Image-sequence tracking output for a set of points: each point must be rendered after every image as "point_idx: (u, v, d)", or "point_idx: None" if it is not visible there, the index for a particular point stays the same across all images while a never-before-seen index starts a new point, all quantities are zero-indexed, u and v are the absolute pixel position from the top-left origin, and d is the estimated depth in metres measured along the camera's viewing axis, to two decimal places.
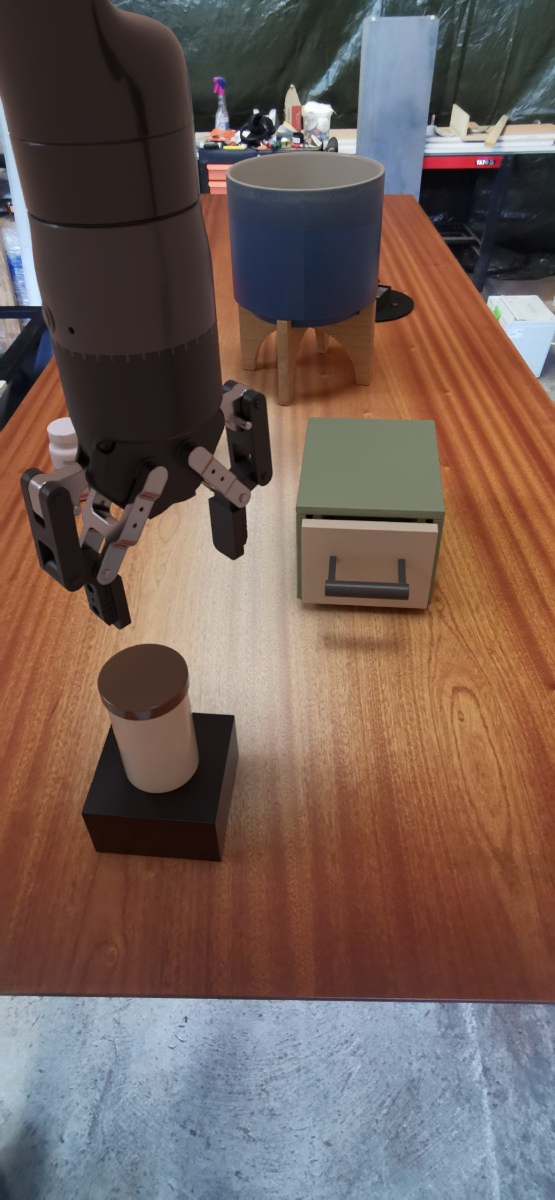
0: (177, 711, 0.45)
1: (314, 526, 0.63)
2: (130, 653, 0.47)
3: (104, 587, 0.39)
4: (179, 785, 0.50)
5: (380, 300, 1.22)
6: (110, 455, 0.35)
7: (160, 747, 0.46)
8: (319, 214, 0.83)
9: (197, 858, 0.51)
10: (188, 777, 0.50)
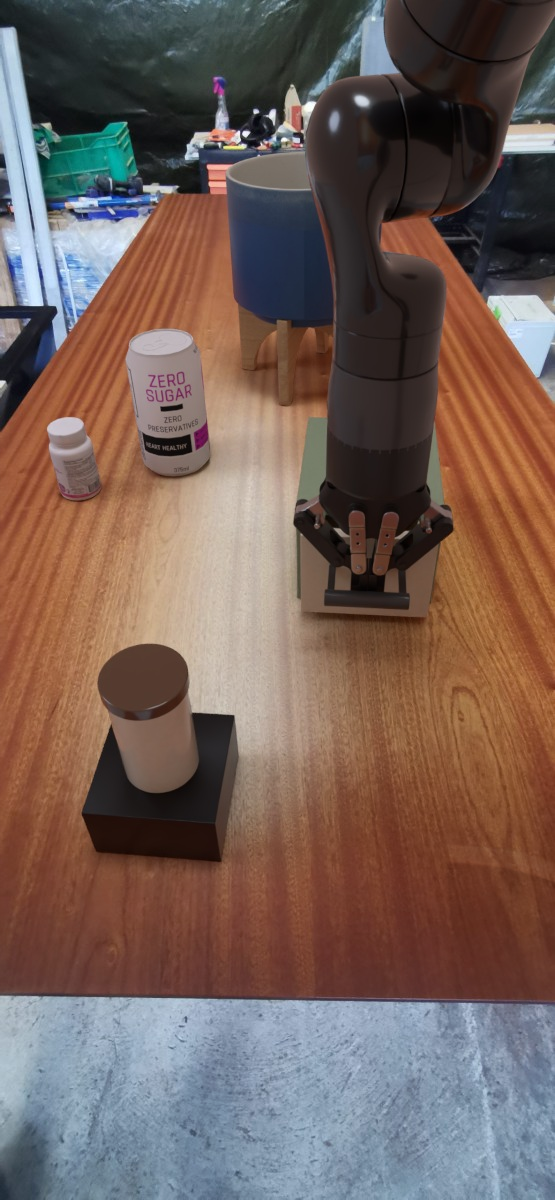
0: (177, 711, 0.45)
1: None
2: (130, 653, 0.47)
3: (357, 575, 0.61)
4: (179, 785, 0.50)
5: None
6: (333, 490, 0.55)
7: (160, 747, 0.46)
8: None
9: (197, 858, 0.51)
10: (188, 777, 0.50)
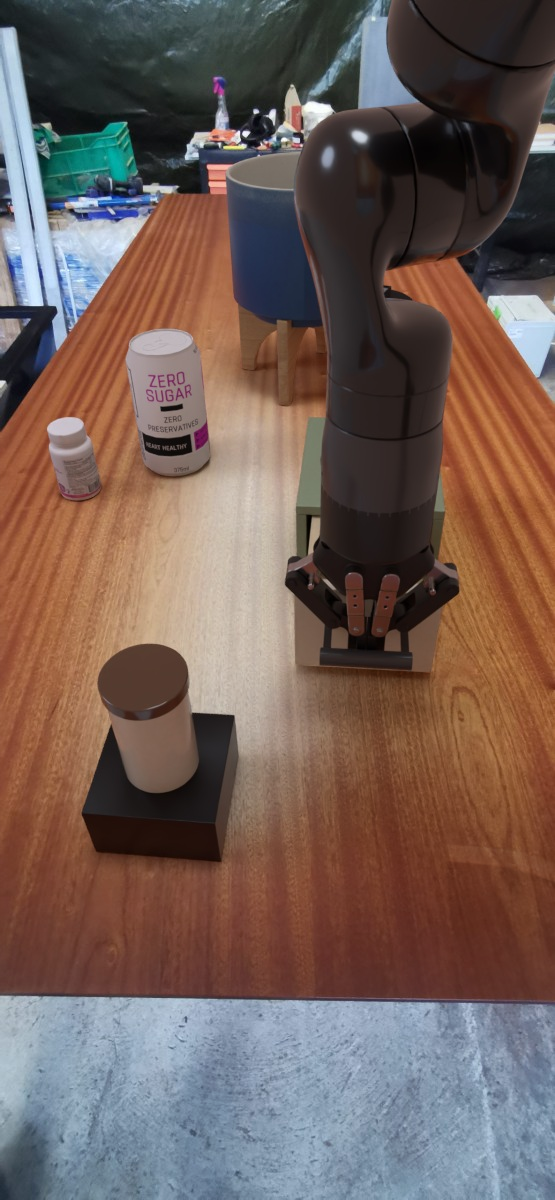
0: (177, 711, 0.45)
1: None
2: (130, 653, 0.47)
3: (354, 636, 0.56)
4: (179, 785, 0.50)
5: None
6: (327, 550, 0.50)
7: (160, 747, 0.46)
8: None
9: (197, 858, 0.51)
10: (188, 777, 0.50)
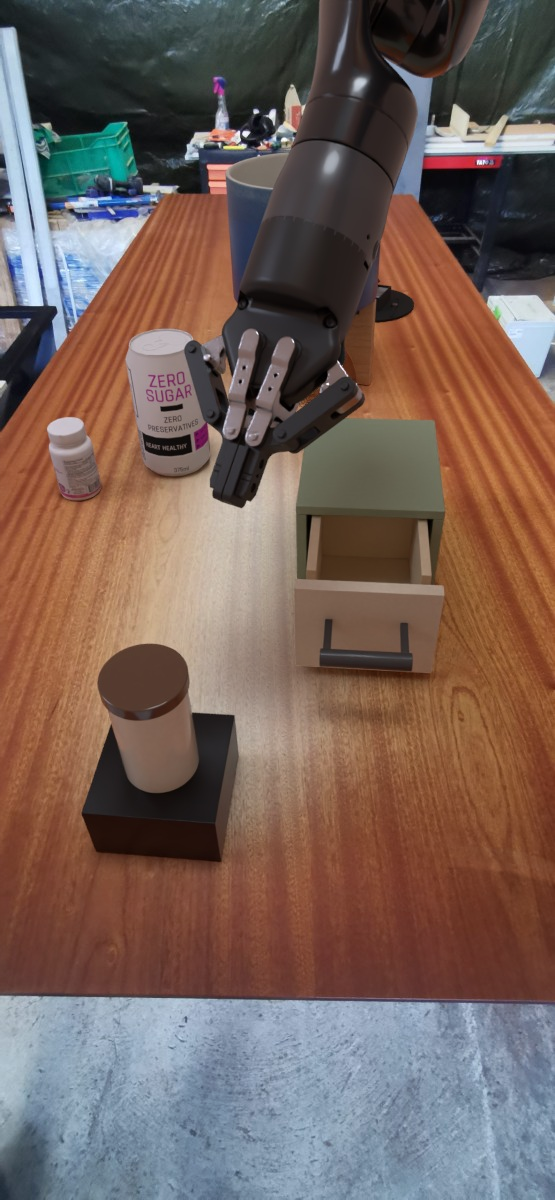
0: (177, 711, 0.45)
1: (308, 587, 0.57)
2: (130, 653, 0.47)
3: (227, 448, 0.47)
4: (179, 785, 0.50)
5: (380, 300, 1.22)
6: (239, 311, 0.47)
7: (160, 747, 0.46)
8: None
9: (197, 858, 0.51)
10: (188, 777, 0.50)
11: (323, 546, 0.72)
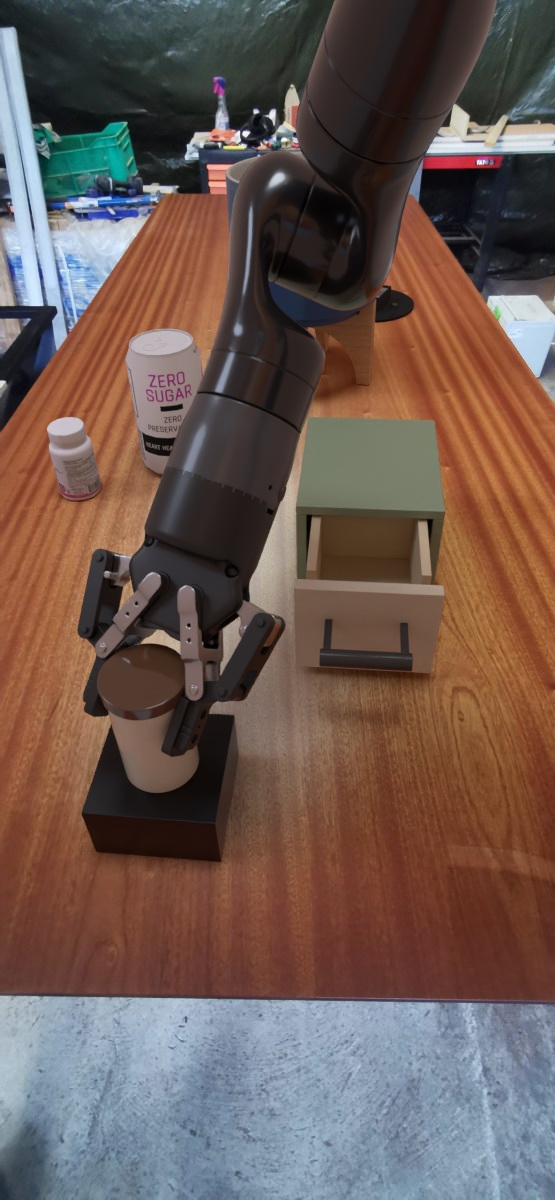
0: None
1: (308, 587, 0.57)
2: (129, 653, 0.47)
3: (100, 664, 0.48)
4: (179, 785, 0.50)
5: (380, 300, 1.22)
6: (145, 548, 0.47)
7: (160, 746, 0.46)
8: None
9: (197, 858, 0.51)
10: (188, 777, 0.50)
11: (323, 546, 0.72)
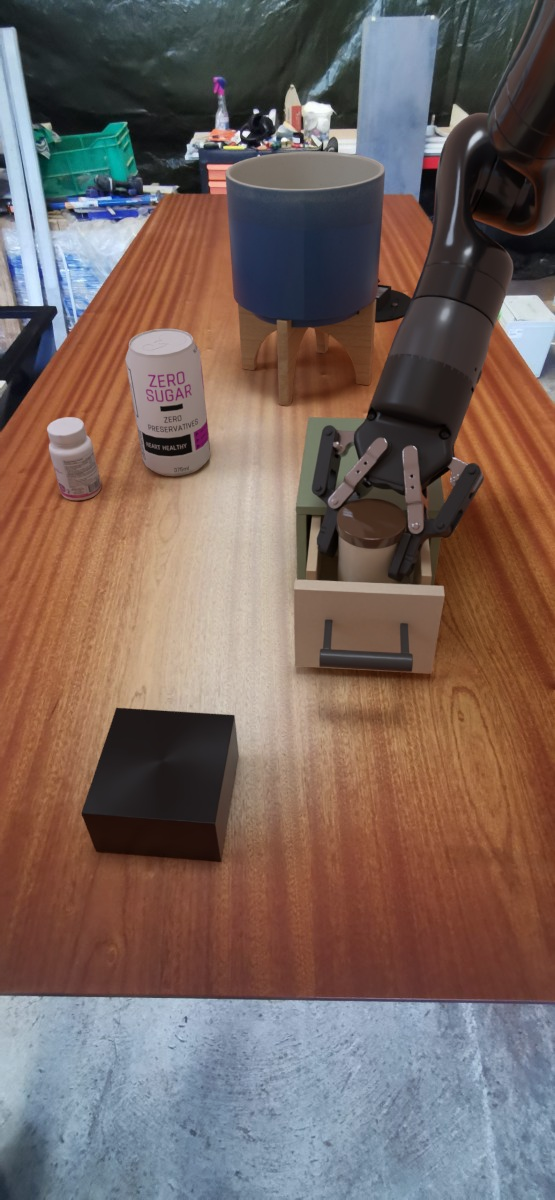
0: None
1: (308, 588, 0.57)
2: (356, 504, 0.60)
3: (330, 515, 0.61)
4: None
5: (380, 300, 1.22)
6: (369, 422, 0.60)
7: (382, 575, 0.60)
8: (319, 214, 0.84)
9: (197, 858, 0.51)
10: None
11: None
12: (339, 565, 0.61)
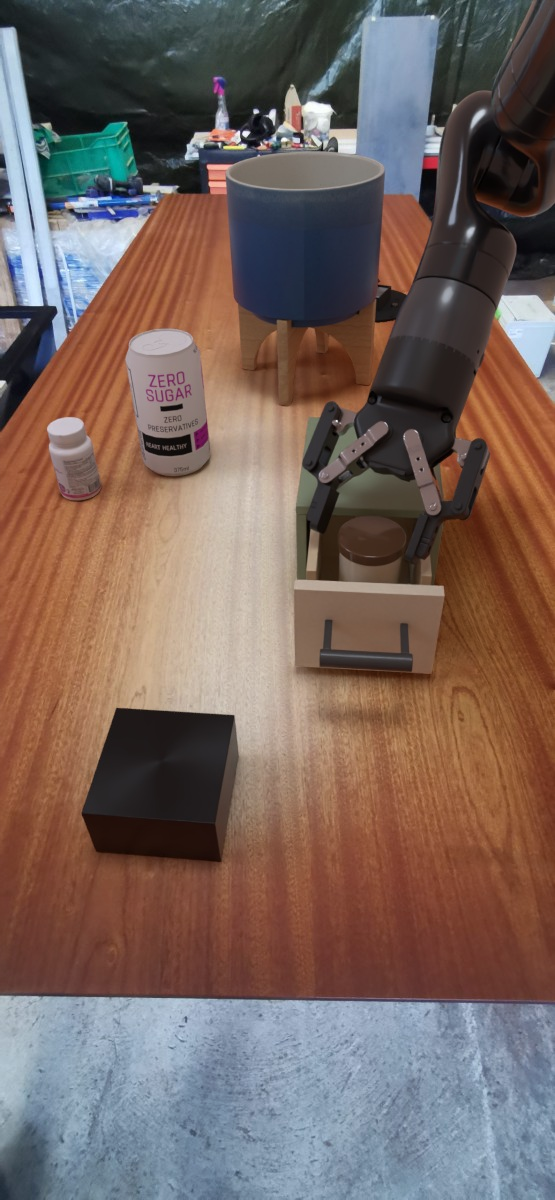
0: (397, 563, 0.60)
1: (308, 588, 0.57)
2: (357, 521, 0.61)
3: (321, 490, 0.60)
4: None
5: (380, 300, 1.22)
6: (369, 406, 0.59)
7: None
8: (319, 214, 0.84)
9: (197, 858, 0.51)
10: None
11: (323, 546, 0.72)
12: (339, 580, 0.63)
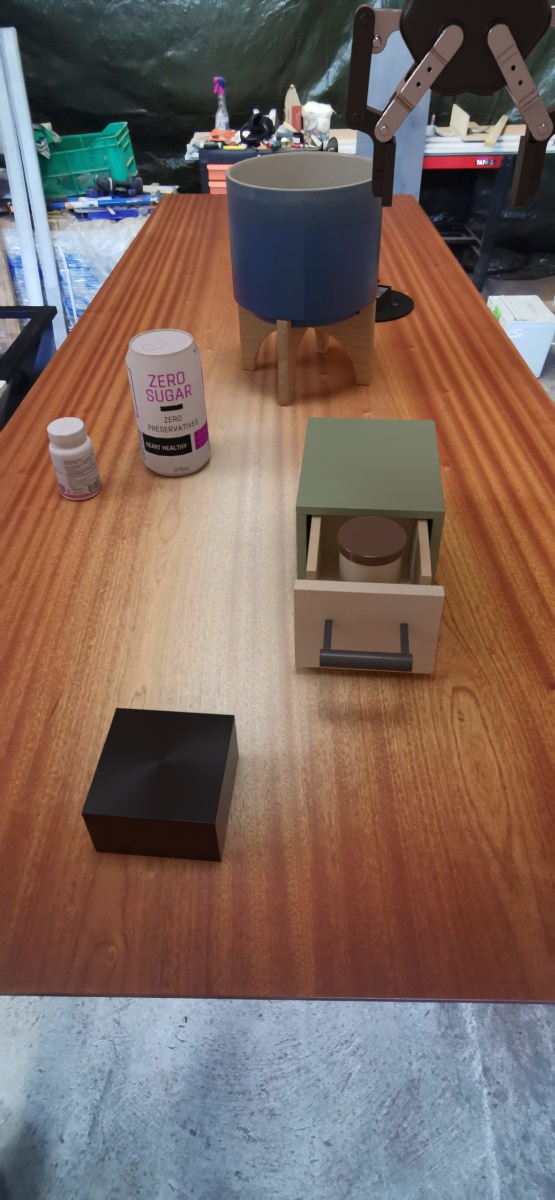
0: (397, 563, 0.60)
1: (308, 588, 0.57)
2: (357, 521, 0.61)
3: (381, 150, 0.46)
4: None
5: (380, 300, 1.22)
6: None
7: None
8: (319, 214, 0.84)
9: (197, 858, 0.51)
10: None
11: (323, 546, 0.72)
12: (339, 580, 0.63)
